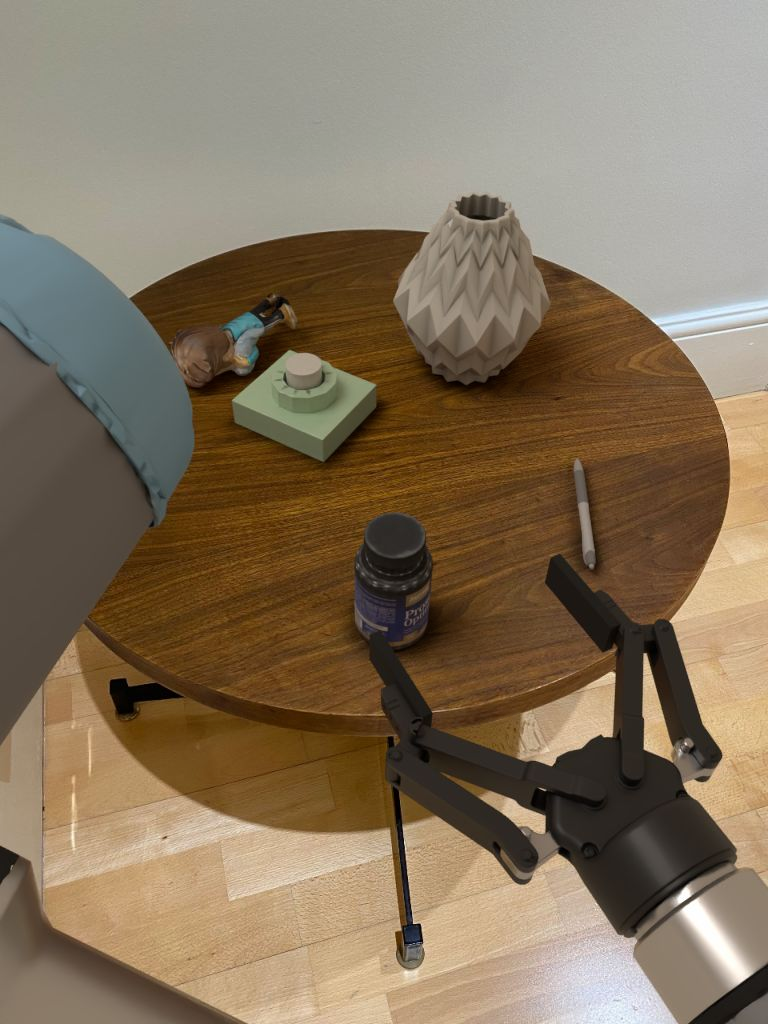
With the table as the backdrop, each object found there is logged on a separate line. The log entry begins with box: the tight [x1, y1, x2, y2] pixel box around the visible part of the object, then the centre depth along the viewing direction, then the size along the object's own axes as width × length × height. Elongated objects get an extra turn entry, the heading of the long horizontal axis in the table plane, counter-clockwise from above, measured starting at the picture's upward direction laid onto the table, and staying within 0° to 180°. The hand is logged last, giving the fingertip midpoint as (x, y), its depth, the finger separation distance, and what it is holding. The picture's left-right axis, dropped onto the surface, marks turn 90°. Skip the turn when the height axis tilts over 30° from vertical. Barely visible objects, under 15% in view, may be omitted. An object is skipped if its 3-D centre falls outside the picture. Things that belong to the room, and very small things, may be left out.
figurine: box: [167, 292, 298, 388], centre depth 95 cm, size 8×16×6 cm, turn 135°
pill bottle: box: [353, 512, 434, 651], centre depth 69 cm, size 6×6×11 cm
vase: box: [393, 191, 551, 386], centre depth 91 cm, size 16×16×18 cm
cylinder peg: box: [285, 352, 322, 390], centre depth 87 cm, size 4×4×2 cm
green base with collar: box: [231, 349, 378, 463], centre depth 89 cm, size 11×10×5 cm
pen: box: [573, 458, 597, 571], centre depth 81 cm, size 1×14×1 cm, turn 177°
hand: (466, 604), depth 57 cm, fingers open, 13 cm apart
